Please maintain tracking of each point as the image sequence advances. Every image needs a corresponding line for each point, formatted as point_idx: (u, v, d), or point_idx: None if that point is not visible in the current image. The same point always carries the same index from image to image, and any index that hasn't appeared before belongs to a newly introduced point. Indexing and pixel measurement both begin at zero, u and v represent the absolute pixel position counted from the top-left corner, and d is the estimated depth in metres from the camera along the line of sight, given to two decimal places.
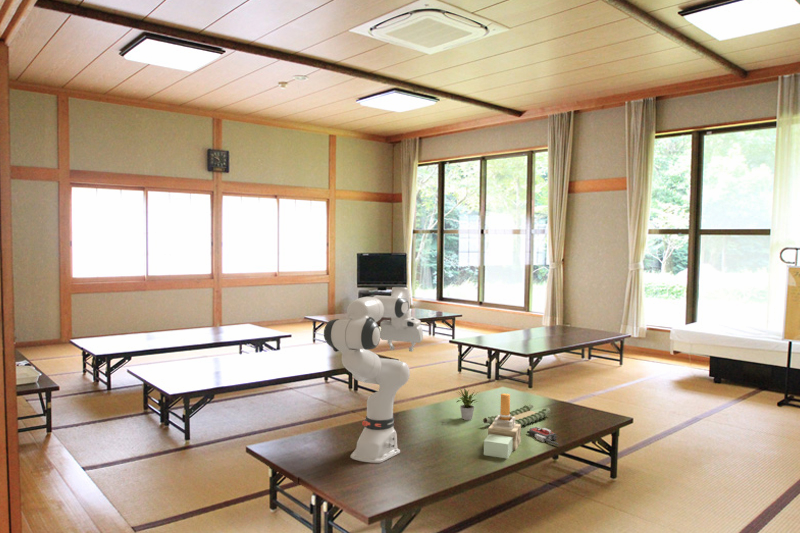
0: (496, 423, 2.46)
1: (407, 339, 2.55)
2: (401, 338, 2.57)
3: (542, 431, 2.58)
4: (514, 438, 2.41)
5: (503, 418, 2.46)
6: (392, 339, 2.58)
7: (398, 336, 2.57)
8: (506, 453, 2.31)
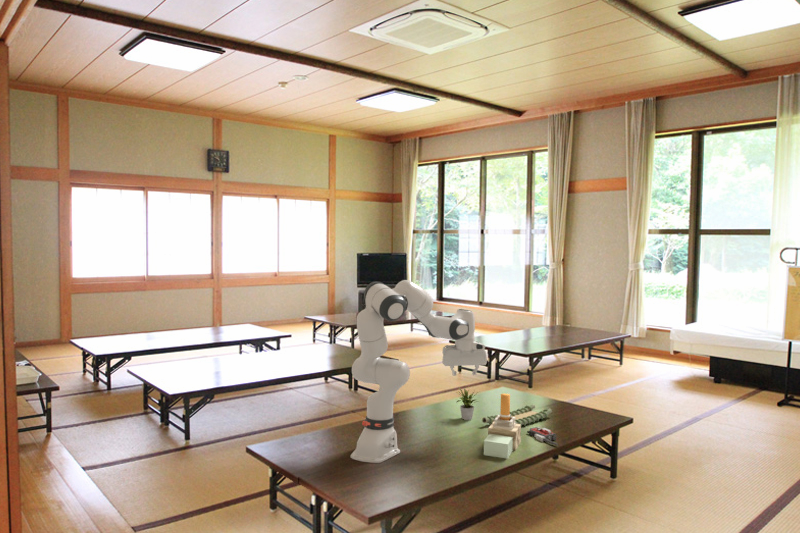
0: (496, 423, 2.46)
1: (473, 362, 2.54)
2: (467, 362, 2.53)
3: (542, 431, 2.59)
4: (514, 438, 2.41)
5: (503, 418, 2.46)
6: (457, 364, 2.53)
7: (464, 360, 2.53)
8: (506, 453, 2.31)
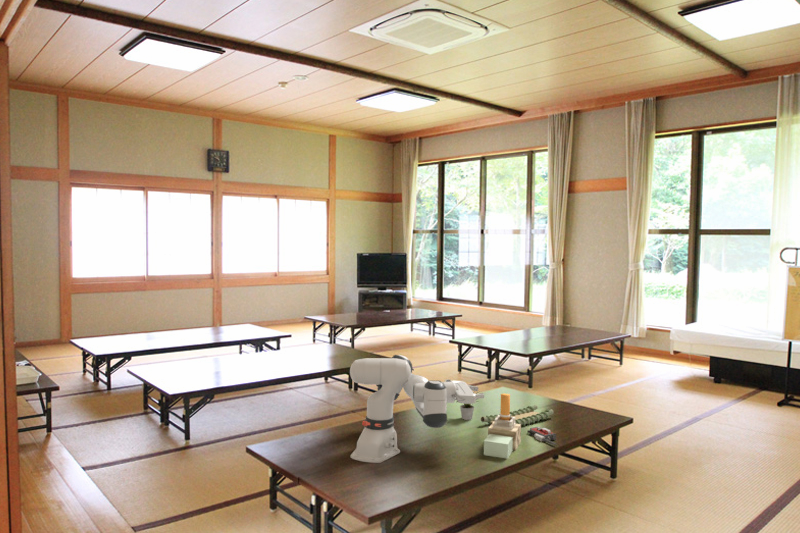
0: (496, 423, 2.46)
1: (465, 385, 2.48)
2: (466, 387, 2.45)
3: (542, 431, 2.59)
4: (514, 438, 2.41)
5: (503, 418, 2.46)
6: (471, 391, 2.41)
7: (465, 388, 2.43)
8: (506, 453, 2.31)
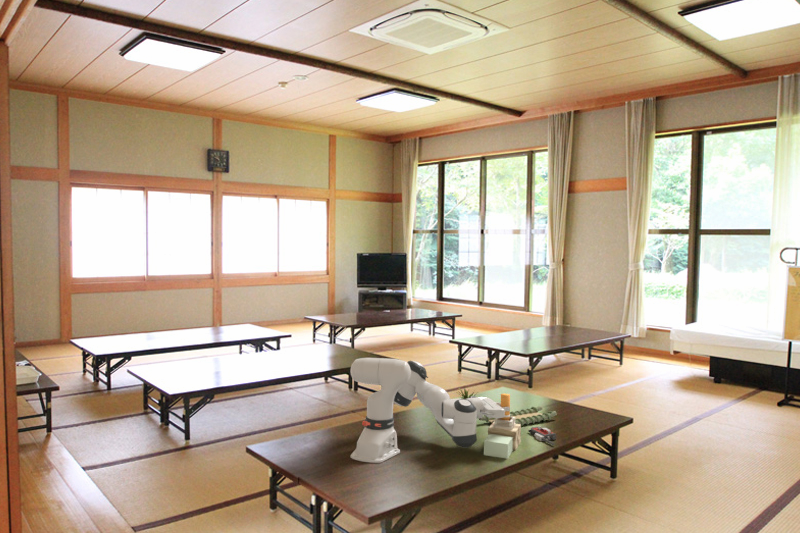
0: (496, 423, 2.46)
1: (491, 401, 2.51)
2: (493, 402, 2.48)
3: (542, 430, 2.59)
4: (514, 438, 2.41)
5: (503, 418, 2.46)
6: (498, 405, 2.44)
7: (492, 403, 2.46)
8: (506, 453, 2.31)
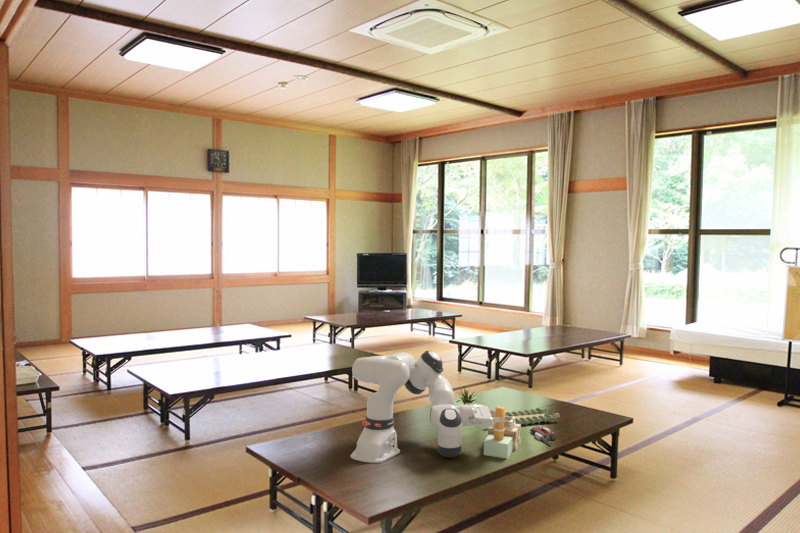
0: None
1: (486, 409, 2.41)
2: (486, 411, 2.38)
3: (543, 430, 2.60)
4: (514, 438, 2.41)
5: (496, 432, 2.36)
6: (489, 414, 2.33)
7: (484, 412, 2.36)
8: (506, 453, 2.31)
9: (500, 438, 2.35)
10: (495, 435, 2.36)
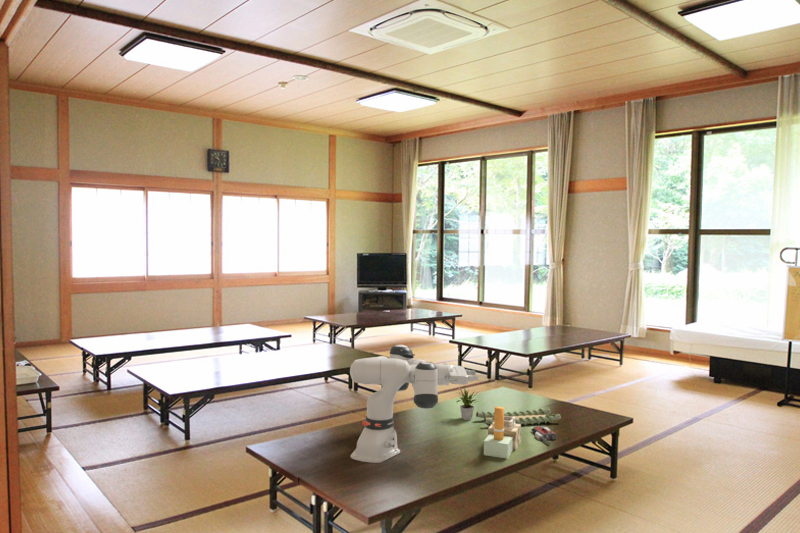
0: None
1: (462, 369, 2.44)
2: (462, 370, 2.41)
3: (543, 430, 2.60)
4: (514, 438, 2.41)
5: (496, 432, 2.36)
6: (465, 373, 2.37)
7: (460, 371, 2.40)
8: (506, 453, 2.31)
9: (500, 438, 2.35)
10: (495, 435, 2.36)
